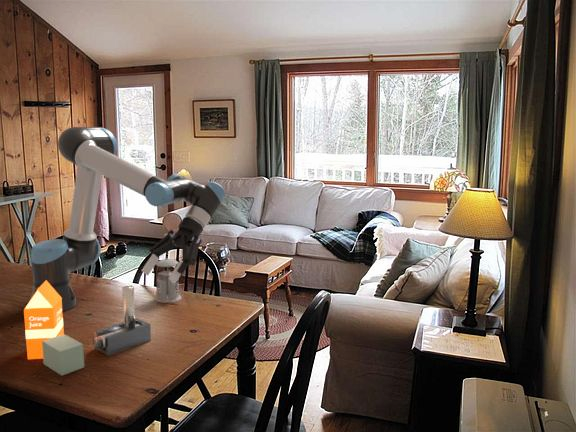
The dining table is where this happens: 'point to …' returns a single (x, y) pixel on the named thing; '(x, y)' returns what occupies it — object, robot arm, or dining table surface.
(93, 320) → the dining table surface
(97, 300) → the dining table surface
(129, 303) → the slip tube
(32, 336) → the orange juice
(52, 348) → the grey-green block
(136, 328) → the gray open box
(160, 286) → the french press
